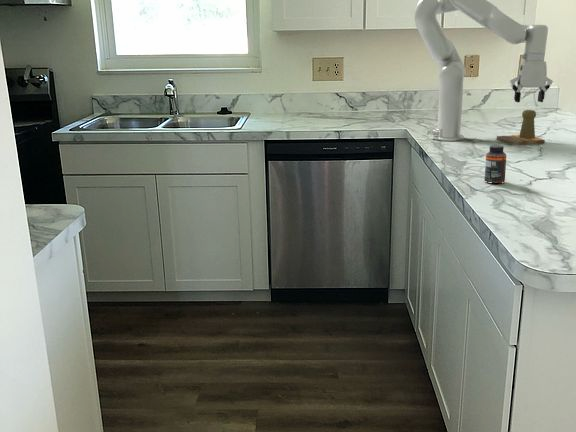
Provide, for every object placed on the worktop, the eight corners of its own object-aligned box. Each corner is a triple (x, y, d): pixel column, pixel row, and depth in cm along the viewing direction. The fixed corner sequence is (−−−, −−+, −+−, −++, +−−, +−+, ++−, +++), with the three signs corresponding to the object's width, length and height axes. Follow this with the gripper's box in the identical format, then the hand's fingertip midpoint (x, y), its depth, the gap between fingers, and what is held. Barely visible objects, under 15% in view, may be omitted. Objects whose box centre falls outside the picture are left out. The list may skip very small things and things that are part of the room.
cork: (525, 139, 250) (527, 111, 247) (515, 136, 255) (518, 109, 252) (538, 138, 251) (540, 110, 248) (528, 135, 257) (531, 108, 254)
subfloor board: (510, 145, 247) (510, 141, 246) (496, 139, 259) (496, 135, 259) (544, 143, 248) (544, 139, 248) (528, 138, 260) (529, 134, 260)
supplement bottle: (500, 179, 194) (503, 143, 191) (507, 184, 189) (510, 147, 185) (481, 180, 194) (483, 144, 191) (487, 185, 188) (490, 147, 185)
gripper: (517, 58, 240) (512, 103, 245) (560, 58, 242) (554, 103, 247) (508, 57, 247) (503, 100, 252) (550, 57, 249) (544, 100, 254)
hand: (528, 101), depth 249 cm, fingers open, 9 cm apart
